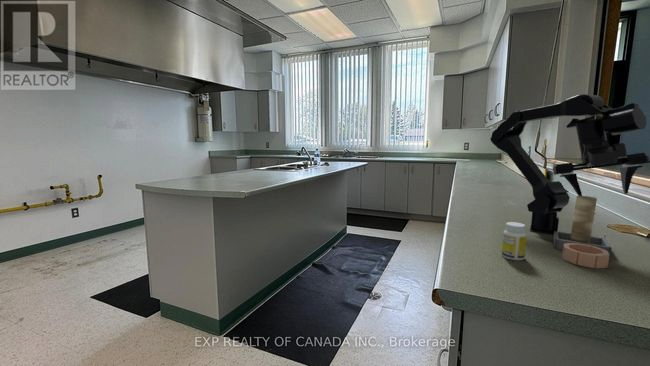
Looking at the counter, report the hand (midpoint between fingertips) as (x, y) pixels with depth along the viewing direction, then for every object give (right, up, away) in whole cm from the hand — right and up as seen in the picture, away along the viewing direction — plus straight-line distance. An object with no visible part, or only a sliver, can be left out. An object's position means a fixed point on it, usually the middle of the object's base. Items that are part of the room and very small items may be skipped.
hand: (602, 195), depth 80 cm
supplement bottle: (-29, -15, -7) cm, 33 cm away
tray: (-7, -14, -1) cm, 16 cm away
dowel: (-7, -13, -1) cm, 15 cm away
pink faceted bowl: (-13, -15, -9) cm, 22 cm away
